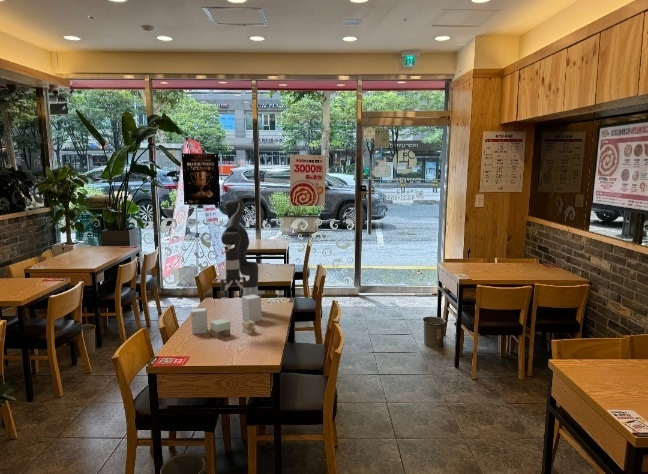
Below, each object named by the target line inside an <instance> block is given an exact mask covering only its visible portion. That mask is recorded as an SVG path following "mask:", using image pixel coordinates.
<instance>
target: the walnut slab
mask: <svg viewBox="0 0 648 474" xmlns="http://www.w3.org/2000/svg"><path fill="white" fill-rule="evenodd" d="M209 329H210V330H209V331H210V336H212V337H213V338H216V339H221V338H225V337H229V336H231V329H227V330H223V331H219V332H217V331H214V330H213V329H211V327H210V328H209Z"/></svg>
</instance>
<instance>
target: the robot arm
mask: <svg viewBox="0 0 648 474" xmlns="http://www.w3.org/2000/svg"><path fill="white" fill-rule="evenodd" d="M224 207H225V208H224V209H225V211H226V215H227V220H228V221H227V223H226V228H225V230H224V231H223V233H222V235H221V242H222V244H223V245H225V246H229V245H230V246H231V245H232V246H233V247H231V248H228V249H226V250H225V278H220V279H219V280H220V281H219V282H220V283H219V286H220V289H219V290H221V291H223V296H224V297H225V298H228V289H229V288H230V287H233V286H234V287H236V286H237V287H239V296H248V295H257V296H259V289H258V284H259V266H258V263H257V262H256V261H249V260H248V259H247V251H248V250H249V249H248V248H249V245H250V239H249V233H248V231H247V230H246V228H244V227H243V226H242V225H241V221H242V219H243V216H244V214H245V209H246V208H245V204H244V201H243V199H241V198H236V199H229V200H226V201H225V203H224ZM241 275H242V277H241ZM245 276H247V277H248V280H247V279H246V277H245ZM240 281H242V284H241V283H240ZM225 282H226V284H225ZM224 285H225V286H224Z"/></svg>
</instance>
